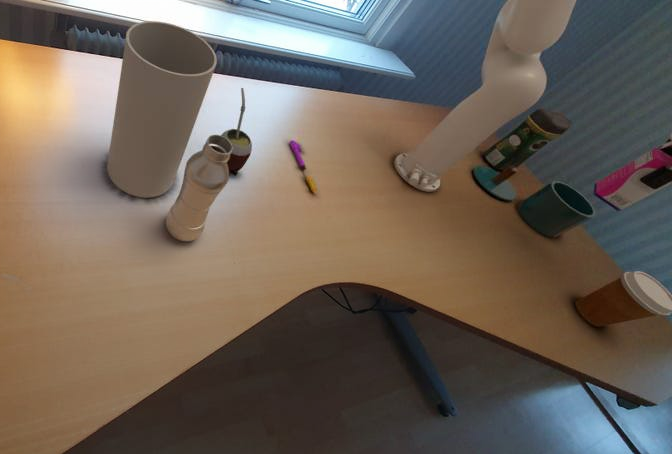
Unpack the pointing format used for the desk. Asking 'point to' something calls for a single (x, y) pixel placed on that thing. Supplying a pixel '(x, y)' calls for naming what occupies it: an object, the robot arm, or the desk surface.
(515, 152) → the coffee jar
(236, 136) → the mate gourd
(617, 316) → the disposable coffee cup
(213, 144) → the plastic bottle
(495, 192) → the pot lid
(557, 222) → the pot
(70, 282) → the desk surface
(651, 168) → the supplement box
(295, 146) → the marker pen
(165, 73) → the cylinder vase
